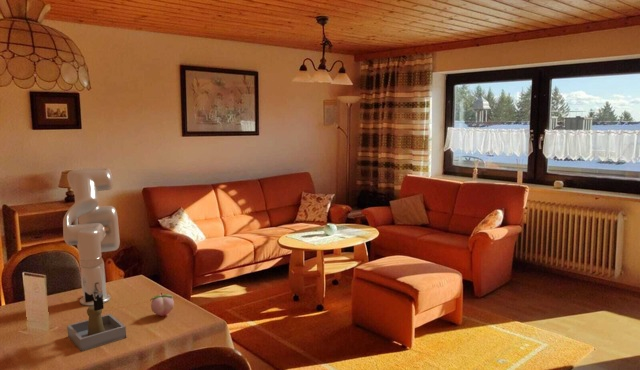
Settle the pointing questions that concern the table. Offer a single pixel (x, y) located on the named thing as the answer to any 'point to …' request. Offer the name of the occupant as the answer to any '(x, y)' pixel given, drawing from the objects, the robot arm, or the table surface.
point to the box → (111, 333)
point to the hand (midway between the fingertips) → (94, 305)
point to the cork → (94, 321)
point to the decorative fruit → (162, 304)
